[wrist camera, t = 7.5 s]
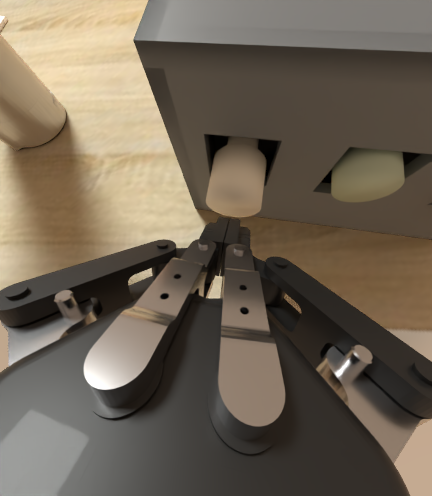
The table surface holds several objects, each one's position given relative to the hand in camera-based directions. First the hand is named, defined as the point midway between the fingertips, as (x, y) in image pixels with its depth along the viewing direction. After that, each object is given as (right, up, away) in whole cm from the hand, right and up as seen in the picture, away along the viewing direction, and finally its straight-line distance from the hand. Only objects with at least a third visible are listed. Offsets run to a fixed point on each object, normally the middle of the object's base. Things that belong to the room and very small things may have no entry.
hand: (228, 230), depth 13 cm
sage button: (+10, +6, +3) cm, 12 cm away
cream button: (+1, +5, +3) cm, 6 cm away
